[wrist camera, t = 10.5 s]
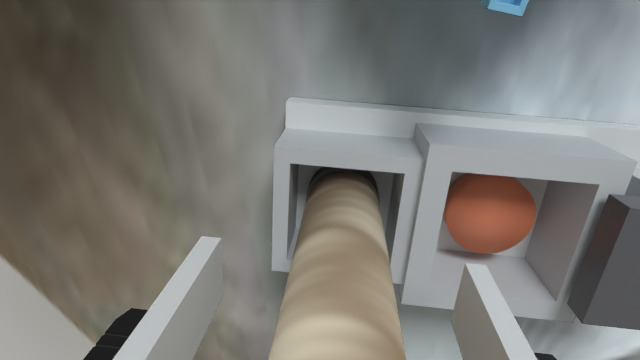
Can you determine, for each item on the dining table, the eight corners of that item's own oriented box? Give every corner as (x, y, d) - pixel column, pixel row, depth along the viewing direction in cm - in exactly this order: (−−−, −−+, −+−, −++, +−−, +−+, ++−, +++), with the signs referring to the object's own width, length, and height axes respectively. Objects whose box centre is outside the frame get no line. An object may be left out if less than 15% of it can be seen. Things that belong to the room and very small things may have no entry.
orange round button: (435, 236, 23) (440, 249, 22) (450, 164, 21) (456, 173, 20) (513, 244, 23) (523, 257, 21) (535, 172, 21) (546, 182, 20)
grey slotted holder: (285, 244, 26) (268, 297, 21) (290, 97, 22) (271, 118, 17) (639, 280, 25) (712, 346, 20) (708, 130, 21) (821, 164, 16)
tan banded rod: (306, 220, 24) (235, 554, 9) (310, 157, 22) (230, 432, 7) (373, 226, 23) (416, 576, 9) (381, 163, 22) (452, 457, 7)
